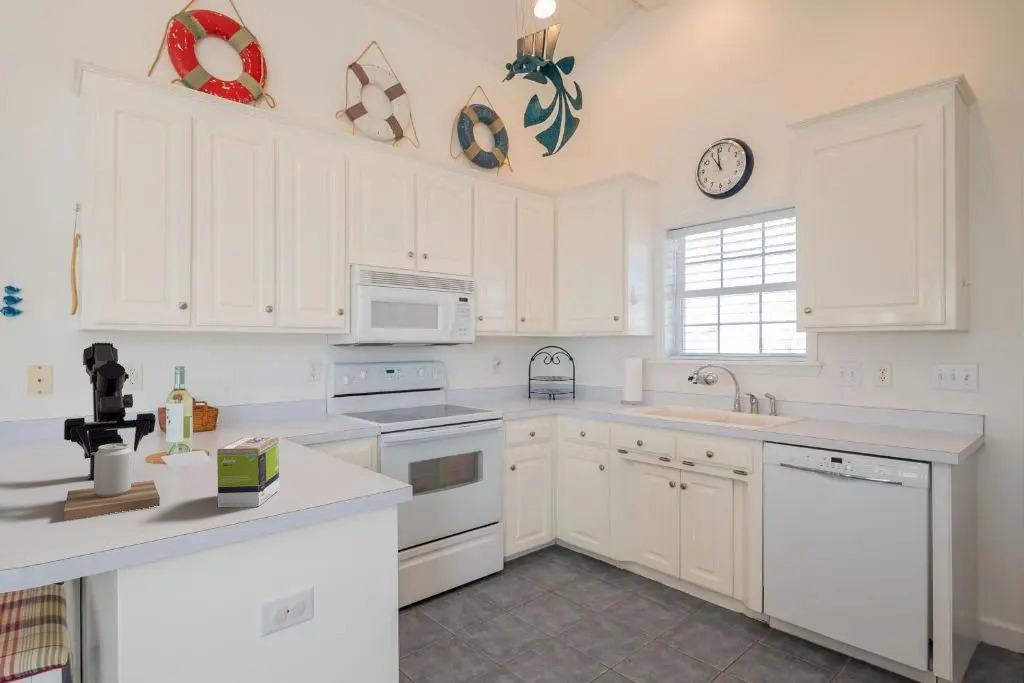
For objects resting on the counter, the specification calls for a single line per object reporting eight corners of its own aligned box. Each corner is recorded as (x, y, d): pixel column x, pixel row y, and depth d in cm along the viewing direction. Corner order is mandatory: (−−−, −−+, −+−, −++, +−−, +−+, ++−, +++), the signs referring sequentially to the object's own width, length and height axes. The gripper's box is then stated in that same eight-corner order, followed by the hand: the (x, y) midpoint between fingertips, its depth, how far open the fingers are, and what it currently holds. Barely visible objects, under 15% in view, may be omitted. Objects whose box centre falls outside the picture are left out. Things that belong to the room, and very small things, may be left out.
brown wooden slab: (68, 502, 137) (68, 490, 138) (153, 491, 148) (153, 480, 148) (63, 524, 122) (64, 510, 122) (159, 509, 132) (159, 497, 132)
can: (98, 500, 130) (99, 450, 129) (89, 493, 134) (90, 444, 134) (135, 493, 135) (136, 445, 135) (125, 487, 140) (126, 440, 140)
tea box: (241, 491, 146) (242, 436, 146) (280, 490, 147) (280, 436, 147) (216, 508, 131) (216, 447, 131) (259, 507, 132) (259, 446, 132)
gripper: (64, 386, 133) (65, 437, 125) (154, 382, 145) (161, 429, 137) (63, 414, 139) (64, 465, 131) (150, 408, 151) (156, 455, 143)
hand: (113, 452), depth 135 cm, fingers open, 9 cm apart
